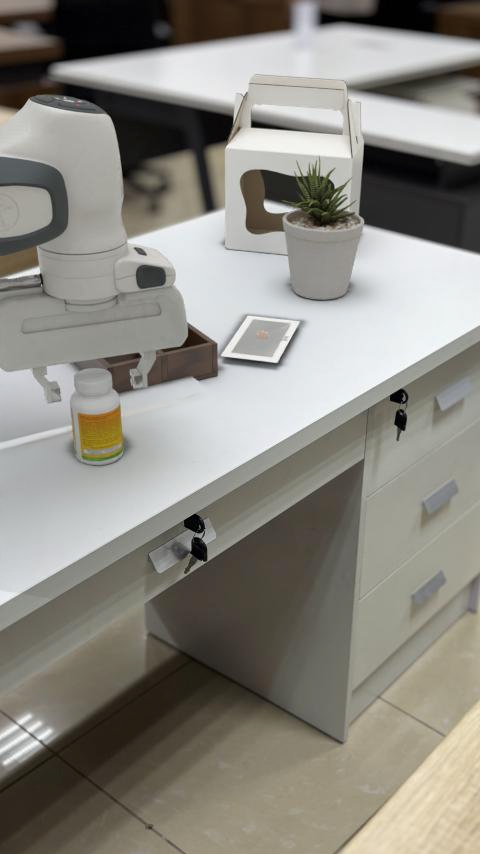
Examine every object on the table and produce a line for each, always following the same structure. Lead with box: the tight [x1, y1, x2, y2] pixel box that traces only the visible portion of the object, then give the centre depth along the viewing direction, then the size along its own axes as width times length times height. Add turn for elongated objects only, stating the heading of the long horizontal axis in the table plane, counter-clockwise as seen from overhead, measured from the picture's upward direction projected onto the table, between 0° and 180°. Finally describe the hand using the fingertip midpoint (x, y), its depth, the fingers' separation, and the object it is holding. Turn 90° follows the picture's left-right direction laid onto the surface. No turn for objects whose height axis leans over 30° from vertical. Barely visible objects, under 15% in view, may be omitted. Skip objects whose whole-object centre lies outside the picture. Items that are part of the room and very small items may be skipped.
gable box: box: [224, 73, 365, 256], centre depth 164 cm, size 22×13×28 cm, turn 77°
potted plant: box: [280, 157, 365, 301], centre depth 147 cm, size 13×14×20 cm
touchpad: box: [220, 315, 301, 364], centre depth 133 cm, size 8×15×2 cm, turn 167°
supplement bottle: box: [69, 368, 125, 466], centre depth 104 cm, size 5×5×10 cm
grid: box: [73, 321, 219, 394], centre depth 125 cm, size 15×15×5 cm
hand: (96, 393), depth 103 cm, fingers open, 8 cm apart
